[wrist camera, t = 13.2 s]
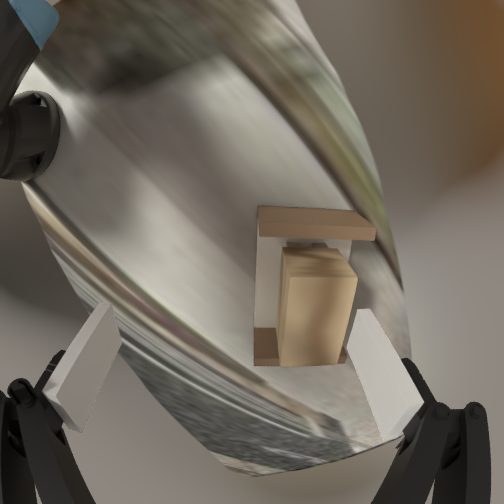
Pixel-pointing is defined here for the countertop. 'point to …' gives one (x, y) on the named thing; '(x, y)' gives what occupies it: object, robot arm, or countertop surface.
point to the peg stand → (294, 235)
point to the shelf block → (313, 305)
